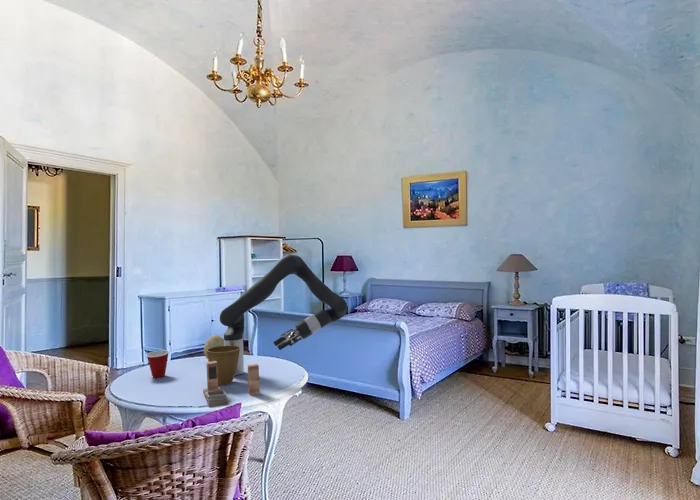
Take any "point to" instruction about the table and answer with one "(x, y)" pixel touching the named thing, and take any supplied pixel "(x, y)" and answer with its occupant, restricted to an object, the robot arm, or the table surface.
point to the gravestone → (213, 387)
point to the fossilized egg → (213, 343)
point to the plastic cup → (158, 362)
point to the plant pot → (224, 362)
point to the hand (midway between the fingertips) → (276, 346)
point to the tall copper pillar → (253, 379)
